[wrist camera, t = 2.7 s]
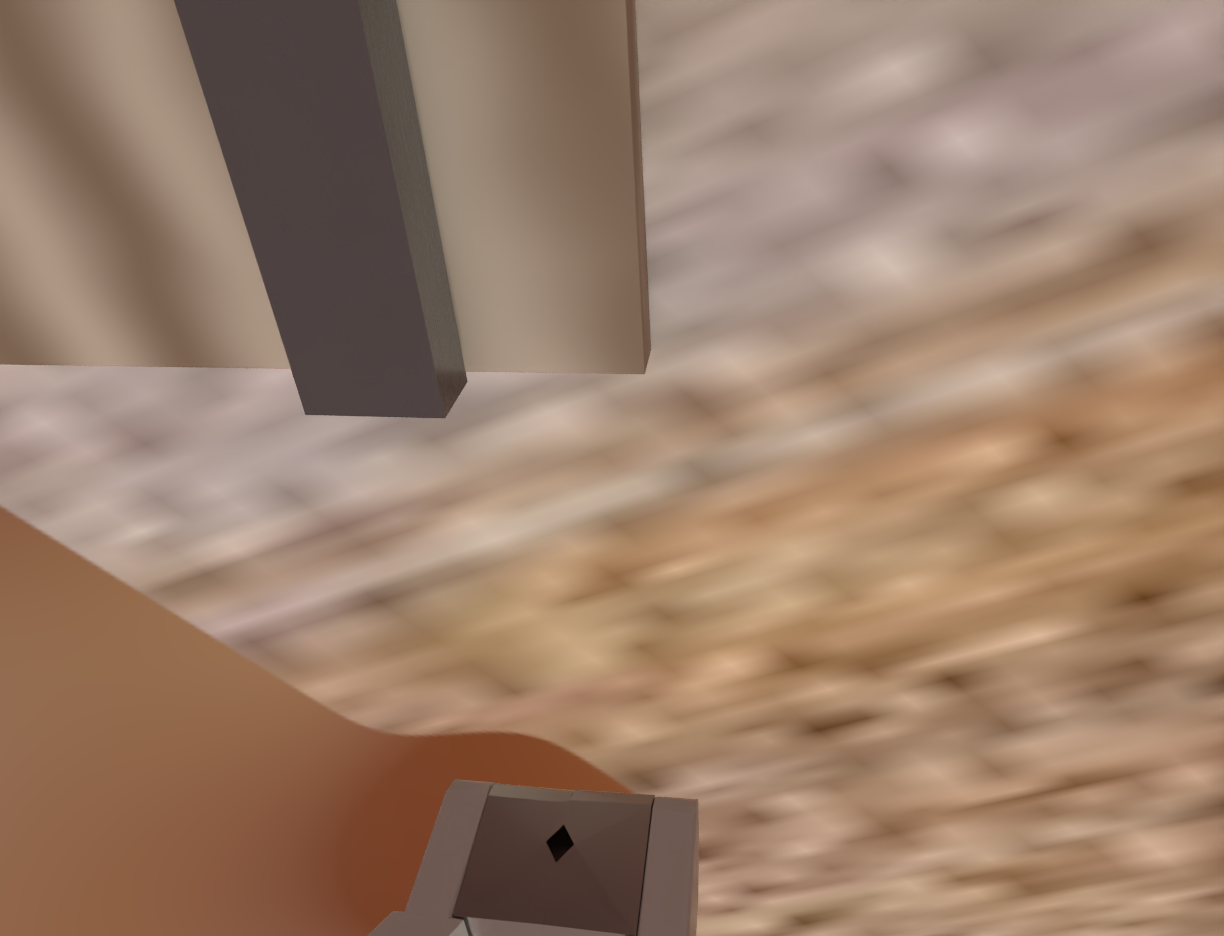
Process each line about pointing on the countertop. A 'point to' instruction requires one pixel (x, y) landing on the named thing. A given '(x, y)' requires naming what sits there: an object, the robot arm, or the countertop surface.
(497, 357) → the board
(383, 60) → the lever
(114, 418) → the countertop surface
